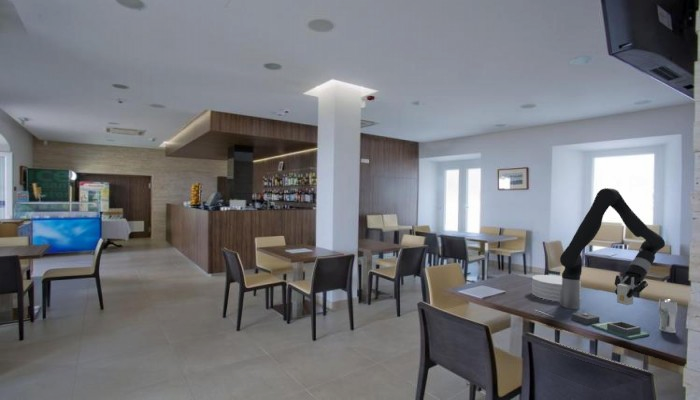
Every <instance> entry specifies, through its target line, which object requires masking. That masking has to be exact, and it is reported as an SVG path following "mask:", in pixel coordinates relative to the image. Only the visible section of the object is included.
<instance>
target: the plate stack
mask: <svg viewBox="0 0 700 400" xmlns="http://www.w3.org/2000/svg"><path fill="white" fill-rule="evenodd" d="M531 279H532V281H531V295H532V294H533V295H535V296H537V297H540V298H543V299H542V300H544V299H548V300H553V301H552V302H554V301H560V290H561V289H562V275H554V274H552V275H551V274H536V275H532V277H531ZM581 285H582V282H581V281H580V301H581V295H582V291H581V289H582V286H581ZM533 295H532V296H533ZM535 296H534V297H535ZM537 297H536V298H537ZM540 298H539V299H540ZM548 300H547V301H548Z"/></svg>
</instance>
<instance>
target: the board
mask: <svg viewBox="0 0 700 400" xmlns="http://www.w3.org/2000/svg"><path fill="white" fill-rule="evenodd" d="M590 326H591V327H592V328H594V329H598V330H601V331H603V332H606V333H609V334H612V335H615V336H618V337H621V338H624V339H627V340H634V339H640V338H645V337H649V336H650V333H649V332H648V333H647V332H645V331H641V329H642V328H641V326H638V325H635V324H631V323H629V322H625V321H623V320H622V321H621V320H620V321H604V322H599V323H594V324H590Z"/></svg>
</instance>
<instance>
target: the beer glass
mask: <svg viewBox="0 0 700 400" xmlns="http://www.w3.org/2000/svg"><path fill="white" fill-rule="evenodd" d="M658 300H659V301H658V314H659V320H660V325H659V327H658V328H659V329H658V330H660V331H661V332H663V333H669V334H676V332H677V331H676V326H675V324H676V320H677V316H678V303H677V301H676V300H673V299H668V298H659V299H658Z"/></svg>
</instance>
